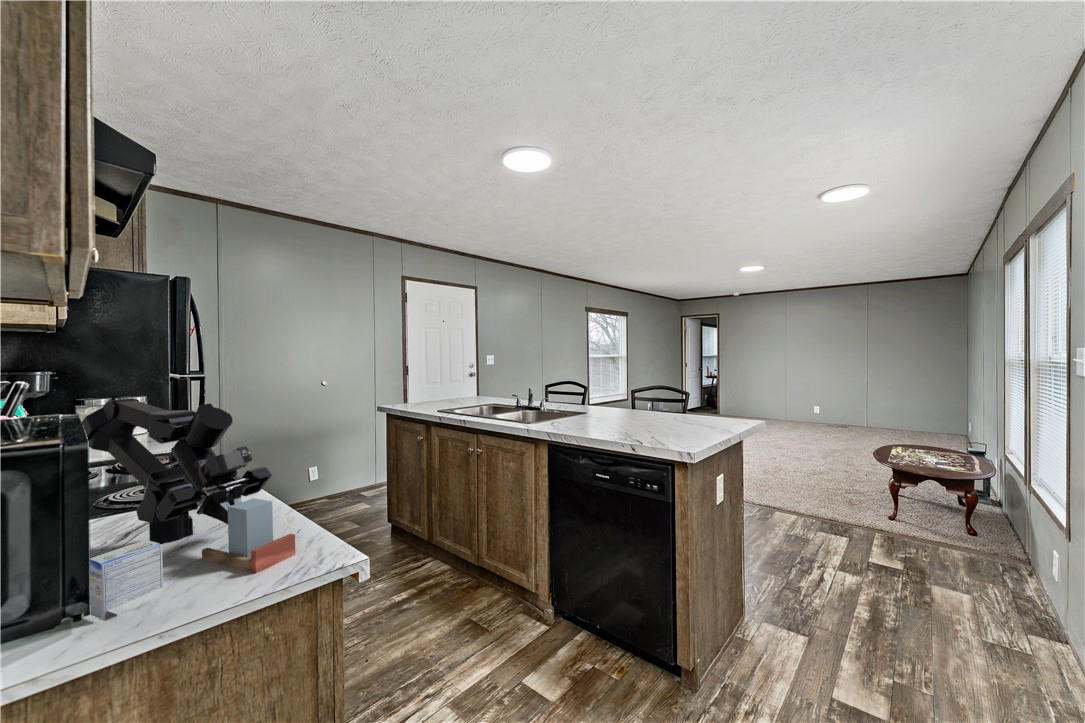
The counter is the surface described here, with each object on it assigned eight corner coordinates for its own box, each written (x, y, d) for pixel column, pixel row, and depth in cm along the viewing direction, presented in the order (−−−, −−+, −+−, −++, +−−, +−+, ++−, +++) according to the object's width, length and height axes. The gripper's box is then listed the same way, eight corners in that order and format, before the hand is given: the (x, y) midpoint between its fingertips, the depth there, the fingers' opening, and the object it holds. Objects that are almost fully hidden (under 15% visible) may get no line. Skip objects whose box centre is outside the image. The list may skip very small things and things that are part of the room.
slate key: (229, 560, 85) (227, 506, 85) (255, 549, 90) (253, 498, 89) (247, 565, 83) (246, 510, 83) (273, 554, 88) (272, 501, 87)
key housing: (197, 567, 85) (196, 539, 85) (244, 548, 94) (244, 522, 94) (253, 583, 80) (253, 553, 80) (299, 560, 88) (298, 533, 88)
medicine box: (148, 590, 78) (146, 538, 78) (164, 595, 76) (162, 543, 76) (87, 615, 71) (85, 558, 70) (104, 622, 69) (101, 564, 69)
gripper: (163, 445, 80) (207, 517, 76) (264, 428, 97) (304, 485, 94) (137, 486, 83) (178, 557, 80) (239, 462, 101) (277, 519, 97)
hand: (240, 526), depth 87 cm, fingers closed, pressing on slate key
